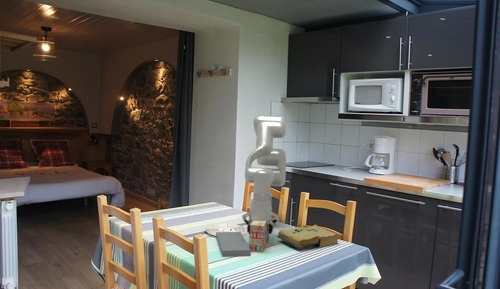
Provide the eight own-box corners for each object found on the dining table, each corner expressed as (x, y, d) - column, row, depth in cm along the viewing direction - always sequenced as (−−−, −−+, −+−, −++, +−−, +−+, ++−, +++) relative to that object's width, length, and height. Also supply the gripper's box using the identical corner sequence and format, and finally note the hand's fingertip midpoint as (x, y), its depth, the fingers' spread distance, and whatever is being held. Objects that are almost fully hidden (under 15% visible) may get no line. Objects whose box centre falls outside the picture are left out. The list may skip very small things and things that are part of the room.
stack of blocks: (256, 237, 189) (258, 212, 188) (269, 238, 188) (270, 213, 187) (248, 251, 168) (250, 224, 167) (262, 253, 167) (264, 225, 166)
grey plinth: (240, 236, 188) (240, 231, 188) (250, 255, 162) (250, 250, 162) (216, 237, 186) (216, 232, 185) (222, 256, 160) (222, 250, 160)
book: (315, 235, 197) (315, 223, 196) (338, 244, 183) (339, 232, 182) (276, 241, 183) (276, 229, 183) (298, 252, 169) (299, 239, 169)
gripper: (277, 195, 181) (275, 230, 182) (241, 195, 178) (240, 231, 179) (281, 198, 174) (280, 235, 175) (244, 198, 170) (242, 236, 171)
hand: (259, 233), depth 177 cm, fingers open, 9 cm apart
